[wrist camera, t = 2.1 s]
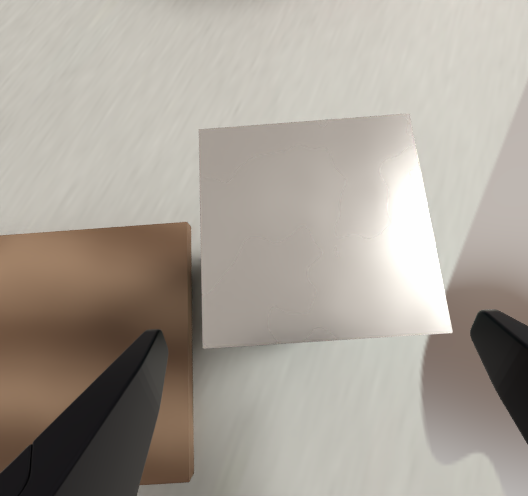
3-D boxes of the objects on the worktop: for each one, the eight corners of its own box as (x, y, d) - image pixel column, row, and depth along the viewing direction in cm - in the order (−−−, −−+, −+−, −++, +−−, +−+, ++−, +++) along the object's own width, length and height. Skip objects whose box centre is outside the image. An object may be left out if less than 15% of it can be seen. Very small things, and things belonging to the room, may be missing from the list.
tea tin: (336, 322, 18) (452, 332, 6) (248, 328, 18) (202, 348, 6) (326, 238, 19) (409, 113, 7) (244, 244, 19) (198, 129, 8)
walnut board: (196, 468, 17) (189, 482, 16) (-49, 482, 17) (-79, 498, 16) (193, 229, 20) (186, 222, 19) (-14, 243, 20) (-37, 238, 19)
